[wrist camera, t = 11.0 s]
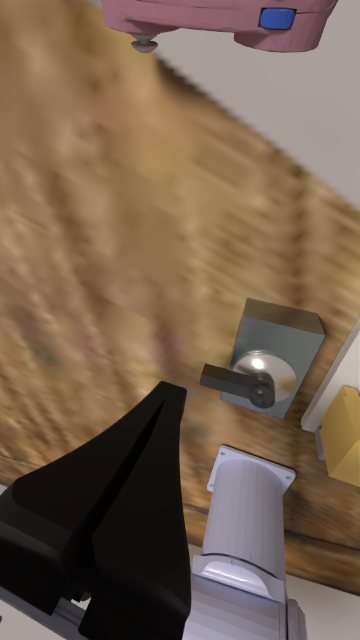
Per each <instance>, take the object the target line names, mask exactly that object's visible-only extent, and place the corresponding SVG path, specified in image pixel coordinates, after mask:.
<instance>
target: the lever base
mask: <svg viewBox="0 0 360 640" xmlns="http://www.w3.org/2000/svg"><path fill="white" fill-rule="evenodd" d="M324 337H325V334H324V331H323V328H322V325H321V322H320V320H319V317H318V314H315V313H311V312H307V311H302V310H298V309H293V308H289V307H285V306H280V305H276V304H272V303H267V302H263V301H258V300H254V299H250V298H247V300H246V303H245V307H244V311H243V314H242V318H241V321H240V325H239V328H238V332H237V336H236V339H235V343H234V346H233V350H232V354H231V357H230V361H229V364H228V368H227V370H231V371H235V372H238V373H242V374H245V375H249V376H253V377H254V376H255V375H258V374H265V375H268V376H270V377H271V378H272V379H273V380H274V382H275V404H274V405H273V406H272V407H270V408H267V409H262V408H258V407H256V406H254V405H253V404H252V403H251V402H250V400H249V399H246V398H243V397H240V396H236V395H233V394H229V393H226V392H223V391H222V392H221V397H220V400H223V401H226V402H230V403H233V404H236V405H239V406H242V407H245V408H248V409H251V410H254V411H258V412H261V413H264V414H267V415H270V416H273V417H276V418H279V419H282V420H283V418H284V416H285V414H286V412H287V410H288V408H289V406H290V404H291V402H292V400H293V398H294V396H295V395H296V393H297V391H298V389H299V387H300V385H301V383H302V381H303V379H304V377H305V375H306V373H307V371H308V369H309V367H310V365H311V363H312V361H313V359H314V357H315V355H316V353H317V351H318V349H319V347H320V345H321V343H322V341H323V339H324Z"/></svg>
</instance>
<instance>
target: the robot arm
mask: <svg viewBox="0 0 360 640" xmlns="http://www.w3.org/2000/svg"><path fill="white" fill-rule="evenodd" d="M186 394H187V390H186V389H185V388H183V387H179V386H176V385H173V384H170V383H167V382H164V381H161V382H159V384H158V385H157V386H156V387H155V388H154V389H153V390H152V391H151V392H150V393H149V394H148V395H147V396H146V397H145V398H144V399H143V400H142V401H141V402H140V403H138V404H137V405H136V406H135V407H134V408H133V409H132V410H131V411H129V412H128V413H127V414H126V415H124V416H123V417H122V418H121V419H119V420H118V421H117V422H116V423H114V424H113V425H112V426H110V427H109V428H108V429H106V430H105V431H103V432H102V433H101V434H99V435H98V436H96V437H95V438H93V439H91V440H90V441H88V442H87V443H85V444H84V445H82V446H80V447H79V448H77V449H75V450H73V451H72V452H70V453H68V454H66V455H64V456H62V457H61V458H59V459H57V460H55V461H53V462H51V463H49V464H47V465H45V466H43V467H41V468H39V469H37V470H35V471H32V472H30V473H28V474H26V475H24V476H22V477H20V478H17V479H16V480H15V481H14V482H13V483H12V484H11V485H10V486H9V487H8V488H7V489H6V490H5V491H4V492H3V493H2V494H1V495H0V599H1V600H2V601H4V602H6V603H7V604H9V605H11V606H12V607H14V608H15V609H17V610H19V611H21V612H22V613H24V614H25V615H27V616H29V617H30V618H32V619H33V620H35V621H37V622H38V623H40V624H42V625H43V626H45V627H46V628H48V629H50V630H51V631H53V632H55V633H56V634H58V635H59V636H61V637H63V638H65V639H66V640H308V639H307V629H306V620H305V614H304V613H303V611H302V610H301V608H300V607H299V606H298V603H297V601H296V600H294V599H289V600H288V595H287V591H286V579H285V552H284V526H283V500H282V496H283V494H284V493H285V491H286V490H287V488H288V487H289V485H290V484H291V482H292V481H293V480H294V478H295V476H296V475H295V471H293V470H292V469H289V468H286V467H283V466H281V465H278V464H275V463H272V462H269V461H267V460H264V459H261V458H258V457H256V456H253V455H250V454H247V453H244V452H242V451H239V450H236V449H233V448H231V447H228V446H225V445H222V446H220V448H219V451H218V454H217V457H216V460H215V463H214V466H213V469H212V472H211V475H210V479H209V482H208V485H207V489H208V490H209V491H211V492H213V493H212V498H211V504H210V509H209V514H208V520H207V525H206V531H205V536H204V541H203V547H202V552H201V556H199V555H194V559H193V564H192V567H190V557H189V550H188V544H187V537H186V530H185V522H184V514H183V505H182V494H181V483H180V462H179V436H180V423H181V419H182V416H183V411H184V406H185V400H186ZM90 597H91V600H90V602H89V604H88V607H87V609H86V610H83V609H82V608H80V607H78V606H77V605H75V604H73V603H72V602H71V600H72V599H73V600H75V601H77V602H80V601H86V600H87V599H89V598H90ZM1 621H2V617H1V616H0V622H1Z"/></svg>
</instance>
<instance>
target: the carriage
mask: <svg viewBox="0 0 360 640" xmlns="http://www.w3.org/2000/svg"><path fill="white" fill-rule="evenodd" d="M321 422H322V428H321V429H320V435H321V440H322V445H323V450H324V455H325V460H326V465H327V470H328V475H329V477H332V478H335V479H338V480H341V481H344V482H346V483H349V484H352V485H355V486H358V487H360V396H359V394H358V392H357V389H355V388H352V387H348V386H345V385H343V386H342V387H341V389H340V391H339V392H338V394H337V395H336V397H335V398H334V400H333V402H332V403H331V405H330V406H329V408H328V409H327V411H326V413H325V414H324V416H323V417H322V419H321Z"/></svg>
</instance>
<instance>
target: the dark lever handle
mask: <svg viewBox="0 0 360 640" xmlns="http://www.w3.org/2000/svg"><path fill="white" fill-rule="evenodd" d="M200 385H202V386H206V387H209V388H213V389H216V390H219V391H223V392H226V393H229V394H233V395H236V396H240V397H243V398H246V399H249V400H250V402H251V403H252V404H253V405H254V406H256V407H258V408H262V409H267V408H270V407H272V406H273V405H274V404H275V382H274V380H273V379H272V378H271V377H270V376H268V375H265V374H258V375H255V376H254V377H253V376H249V375H245V374H242V373H238V372H235V371H231V370H227V369H224V368H220V367H216V366H213V365H209V364H205V366H204V368H203V371H202V374H201V379H200Z"/></svg>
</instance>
